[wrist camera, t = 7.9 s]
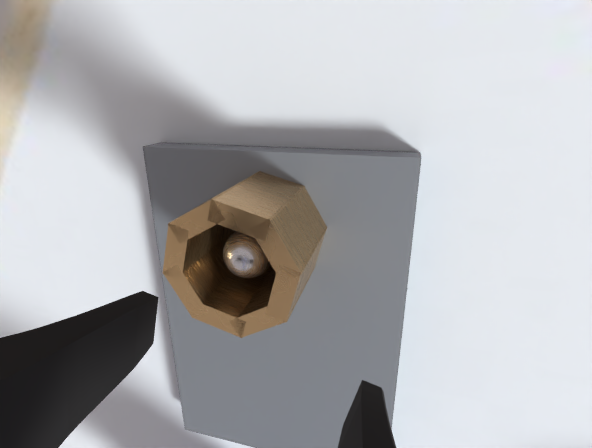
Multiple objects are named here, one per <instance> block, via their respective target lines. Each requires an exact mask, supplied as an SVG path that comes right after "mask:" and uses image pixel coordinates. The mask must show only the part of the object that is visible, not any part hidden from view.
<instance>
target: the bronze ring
mask: <svg viewBox="0 0 592 448" xmlns="http://www.w3.org/2000/svg"><path fill="white" fill-rule="evenodd" d="M234 230H235V231H237V232H240V233H243V234H246V235H248V236H251V237H254V238H255V239H256V240H257V242H258V244H259V245H260V247H261V249H262V250H263V252H264V254H265V255H266V257H267V259H268V260H269V262H270V264H271V265H270V266H269V267H268V269H267V270H266V271H265V272H264V273H262V274H261V275H259V276H257V277H254V278H242V277H238V276H236V275H234V274H233V273H232V272H231V271H230V270H229V269H228V268H227V267H226V265H225V262H224V259H223V248H224V245H225V242H226V241H227V239H228V238H229V237H230V236H231V235H232V234H233V233H234V232H235V231H234ZM326 230H327V226H326V224H325V222H324V220H323V219H322V217H321V215H320V213H319V211H318V209H317V208H316V206H315V204H314V202H313V200H312V199H311V197H310V195H309V193H308V191H307V190H306V188H305V186H304V185H300V184H297V183H294V182H291V181H288V180H285V179H282V178H279V177H276V176H273V175H270V174H267V173H264V172H261V171H259V172H257V173H255V174H253V175H252V176H250V177H248V178H246V179H245V180H243V181H241V182H240V183H238V184H236V185H234V186H233V187H231V188H229V189H227V190H226V191H223V192H222V193H220V194H218V195H216V196H215V197H213V198H211V199H209V200H208V201H206V202H204V203H202V204H201V205H199V206H197V207H196V208H194V209H192V210H190V211H189V212H187V213H185V214H183V215H182V216H180V217H178V218H176V219H175V220H173V221H171V222H169V223H168V232H167V240H166V249H165V257H164V265H163V272H162V273H163V274H164V276H165V277H166V279H167V280H168V282H169V283H170V285H171V286H172V288H173V289H174V291H175V292H176V294H177V295H178V297H179V298H180V300H181V301H182V303H183V304H184V306H185V307H186V309H187V310H188V312H189V313H190V315H191V317H192V318H194V319H197V320H199V321H202V322H204V323H206V324H209V325H211V326H214V327H216V328H218V329H221V330H223V331H226V332H228V333H231V334H233V335H235V336H238V337H240V338H243V337H245V336H248V335H251V334H254V333H257V332H259V331H262V330H265V329H268V328H271V327H274V326H276V325H279V324H282V323H286V322H287V321H288V319H289V317H290V315H291V313H292V311H293V309H294V307H295V305H296V303H297V302H298V300H299V298H300V296H301V294H302V292H303V290H304V288H305V286H306V284H307V282H308V280H309V278H310V276H311V274H312V272H313V270H314V268H315V264H316V261H317V258H318V255H319V252H320V249H321V245H322V242H323V239H324V236H325V233H326Z"/></svg>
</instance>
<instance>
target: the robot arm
mask: <svg viewBox="0 0 592 448" xmlns="http://www.w3.org/2000/svg"><path fill="white" fill-rule="evenodd" d="M157 304H158V297H156V296H154V295H151V294H149V293H146V292H144V291H142V292H139V293H136V294H133V295H130V296H127V297H125V298H122V299H120V300H117V301H114V302H112V303H109V304H106V305H104V306H101V307H98V308H96V309H93V310H90V311H88V312H85V313H82V314H79V315H77V316H74V317H70V318H67V319H64V320H61V321H58V322H55V323H52V324H49V325H46V326H43V327H40V328H36V329H33V330H29V331H26V332H22V333H18V334H14V335H10V336H6V337H2V338H0V448H58V447H59V446H60V445H61V444H62V443H63V441H64V440H65V439H66V438H67V437H68V436H69V434H70V433H71V432H72V431H73V430H74V429H75V428H76V427H77V426H78V425H79V424H80V423H81V422H82V421H83V420H84V419H85V418H86V416H87V415H88V414H89V413H90V412H91V411H92V410H93V409H94V408H95V407H96V406H97V405H98V404H99V403H100V402H101V401H102V400H103V399H104V398H105V397H106V396H107V395H108V394H109V393H110V392H111V391H112V390H113V389H114V388H115V387H116V386H117V385H118V384H119V383H120V382H121V381H122V380H123V379H124V378H125V377H126V376H127V375H128V374H129V373H130V372H131V371H132V370H133V369H134V368H135V366H136V365H137V364H138V363H139V361H140V360H141V359H142V358H143V356H144V355H145V354H146V352H147V351H148V350H149V348H150V347H151V346H152V344H153V341H154V332H155V322H156V313H157ZM338 448H396V445H395V442H394V438H393V434H392V430H391V426H390V422H389V418H388V413H387V408H386V403H385V397H384V392H383V390H382V388H381V387H379V386H377V385H374V384H372V383H369V382H367V381H364V380H362V381H361V384H360V386H359V388H358V391H357V393H356V395H355V398H354V400H353V402H352V405H351V407H350V410H349V412H348V414H347V417H346V419H345V421H344V424H343V427H342V431H341V435H340V440H339V444H338Z"/></svg>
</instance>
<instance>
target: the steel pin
mask: <svg viewBox="0 0 592 448" xmlns="http://www.w3.org/2000/svg"><path fill="white" fill-rule="evenodd" d="M223 259H224V262H225V265H226V267H227V268H228V269H229V270H230V271H231V272H232V273H233V274H234V275H236V276H238V277H242V278H254V277H257V276H259V275H261V274H262V273H264V272H265V271H266V270H267V269H268V267H269V266H270V265H271V264H270V262H269V260H268V259H267V257H266V255H265V254H264V252H263V250H262V249H261V247H260V245H259V244H258V242H257V240H256V239H255V238H254V237H251V236H248V235H246V234H243V233H240V232H237V231H235V232H234V233H233V234H232V235H231V236H230V237H229V238H228V239H227V241H226V242H225V245H224V248H223Z"/></svg>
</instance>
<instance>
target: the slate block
mask: <svg viewBox="0 0 592 448" xmlns="http://www.w3.org/2000/svg"><path fill="white" fill-rule="evenodd" d="M143 151H144V158H145V164H146V171H147V178H148V184H149V191H150V198H151V205H152V211H153V218H154V225H155V231H156V238H157V245H158V252H159V258H160V265H161V272H163V265H164V257H165V249H166V240H167V232H168V223H169V222H171V221H173V220H175V219H176V218H178V217H180V216H182V215H183V214H185V213H187V212H189V211H190V210H192V209H194V208H196V207H197V206H199V205H201V204H202V203H204V202H206V201H208V200H209V199H211V198H213V197H215V196H216V195H218V194H220V193H222V192H223V191H226V190H227V189H229V188H231V187H233V186H234V185H236V184H238V183H240V182H241V181H243V180H245V179H246V178H248V177H250V176H252V175H253V174H255V173H257V172H259V171H261V172H264V173H267V174H270V175H273V176H276V177H279V178H282V179H285V180H288V181H291V182H294V183H297V184H300V185H304V186H305V188H306V190H307V191H308V193H309V195H310V197H311V199H312V200H313V202H314V204H315V206H316V208H317V209H318V211H319V213H320V215H321V217H322V219H323V220H324V222H325V224H326V226H327V230H326V233H325V236H324V239H323V242H322V245H321V249H320V252H319V255H318V258H317V261H316V264H315V268H314V270H313V272H312V274H311V276H310V278H309V280H308V282H307V284H306V286H305V288H304V290H303V292H302V294H301V296H300V298H299V300H298V302H297V303H296V305H295V307H294V309H293V311H292V313H291V315H290V317H289V319H288V321H287V322H286V323H282V324H279V325H276V326H274V327H271V328H268V329H265V330H262V331H259V332H257V333H254V334H251V335H248V336H245V337H243V338H240V337H238V336H235V335H233V334H231V333H228V332H226V331H223V330H221V329H218V328H216V327H214V326H211V325H209V324H206V323H204V322H202V321H199V320H197V319H194V318H192V317H191V315H190V313H189V312H188V310H187V309H186V307H185V306H184V304H183V303H182V301H181V300H180V298H179V297H178V295H177V294H176V292H175V291H174V289H173V288H172V286H171V285H170V283H169V282H168V280H167V279H166V277H165V276H164V274H163V273H162V279H163V285H164V292H165V299H166V305H167V312H168V319H169V326H170V332H171V339H172V346H173V352H174V359H175V366H176V373H177V379H178V386H179V393H180V399H181V406H182V413H183V420H184V426H185V430H189V431H193V432H197V433H201V434H205V435H208V436H212V437H216V438H220V439H224V440H228V441H232V442H235V443H239V444H243V445H247V446H251V447H255V448H338V444H339V440H340V435H341V431H342V427H343V424H344V421H345V419H346V417H347V414H348V412H349V410H350V407H351V405H352V402H353V400H354V398H355V395H356V393H357V391H358V388H359V386H360V384H361V381H362V380H364V381H367V382H369V383H372V384H374V385H377V386H379V387H381V388H382V390H383V392H384V397H385V403H386V408H387V413H388V418H389V422H390V426H391V428H392V419H393V410H394V401H395V392H396V383H397V374H398V365H399V356H400V347H401V338H402V329H403V320H404V310H405V301H406V292H407V283H408V274H409V265H410V256H411V247H412V238H413V229H414V220H415V211H416V201H417V192H418V183H419V174H420V165H421V154H420V152H397V151H370V150H343V149H315V148H288V147H261V146H233V145H206V144H179V143H157V144H153V145H148V146H144V147H143ZM234 231H235V230H234Z"/></svg>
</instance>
